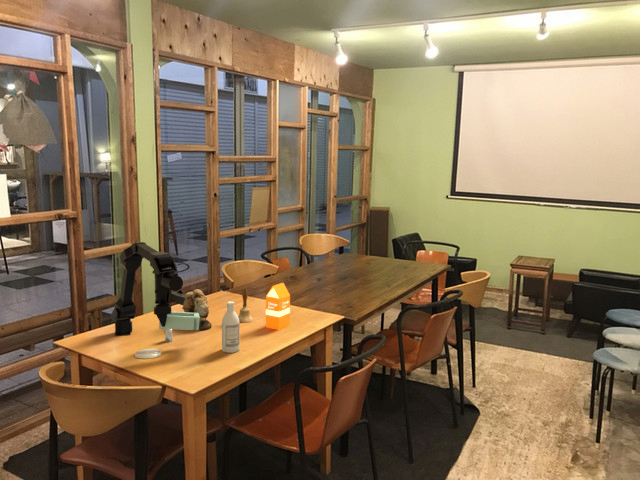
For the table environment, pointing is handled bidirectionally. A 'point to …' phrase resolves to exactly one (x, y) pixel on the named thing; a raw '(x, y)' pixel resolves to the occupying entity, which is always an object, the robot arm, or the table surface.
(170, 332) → the peg
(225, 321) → the bath foam
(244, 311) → the hand bell
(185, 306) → the owl figurine
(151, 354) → the cream oval dome
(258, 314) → the table surface
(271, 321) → the orange juice
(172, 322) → the c link
